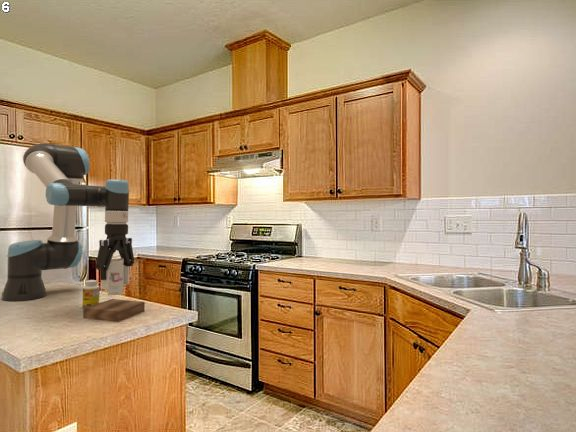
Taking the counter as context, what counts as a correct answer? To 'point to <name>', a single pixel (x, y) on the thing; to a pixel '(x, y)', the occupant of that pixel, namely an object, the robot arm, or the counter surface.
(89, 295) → the supplement bottle
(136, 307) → the walnut slab
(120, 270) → the ink box
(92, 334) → the counter surface
